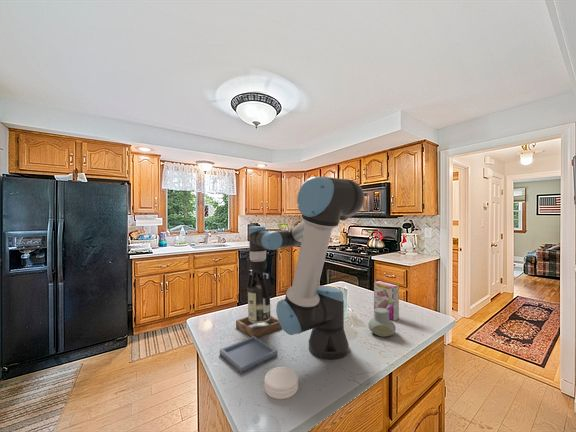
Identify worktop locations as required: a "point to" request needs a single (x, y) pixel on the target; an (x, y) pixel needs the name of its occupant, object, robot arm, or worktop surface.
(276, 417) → the worktop surface
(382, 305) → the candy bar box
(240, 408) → the worktop surface
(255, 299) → the coffee can
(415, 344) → the worktop surface
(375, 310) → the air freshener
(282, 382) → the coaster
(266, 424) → the worktop surface
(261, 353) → the tray
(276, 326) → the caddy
